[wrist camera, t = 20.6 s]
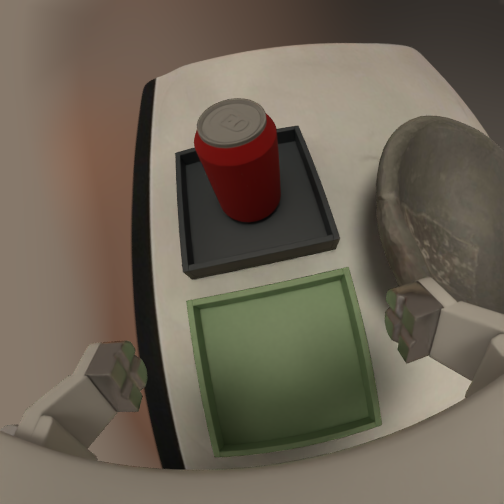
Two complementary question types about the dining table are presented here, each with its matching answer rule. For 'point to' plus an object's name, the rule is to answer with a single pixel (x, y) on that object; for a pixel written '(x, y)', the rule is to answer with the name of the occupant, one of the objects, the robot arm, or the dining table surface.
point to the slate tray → (258, 232)
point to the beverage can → (240, 158)
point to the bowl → (444, 209)
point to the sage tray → (283, 365)
